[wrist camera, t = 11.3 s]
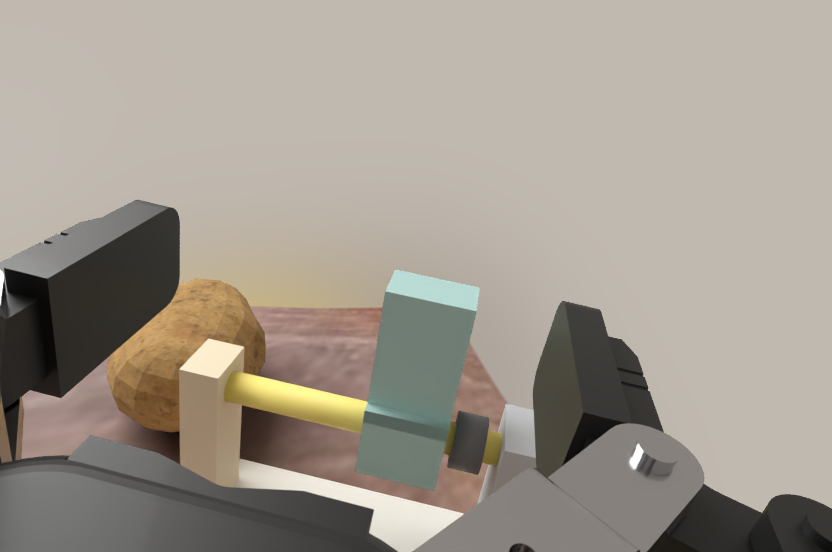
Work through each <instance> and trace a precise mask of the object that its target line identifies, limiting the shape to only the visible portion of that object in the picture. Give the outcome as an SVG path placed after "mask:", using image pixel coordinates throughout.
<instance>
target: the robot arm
mask: <svg viewBox="0 0 832 552" xmlns="http://www.w3.org/2000/svg"><path fill="white" fill-rule="evenodd" d="M179 235H180V222H179V216H178V213H177V211H176V210H175V209H174V208H170V207H166V206H162V205H157V204H153V203H149V202H145V201H140V200H135V201H133V202H131V203H129V204H127V205H125V206H123V207H121V208H119V209H117V210H115V211H113V212H111V213H109V214H108V215H106V216H104V217H102V218H97V219H93V220H88V221H84V222H80V223H78V224H76V225H74V226H72V227H70V228H68V229H66V230H64V231H62V232H61V234H60V235H58V234H57V235H54V236H52V237H50V238H48V239H46V240H45V241H44V243H38V244H36V245H35V246H32V247H30V248H28V249H26V250H24V251H22V252H21V253H18V254H16V255H14V256H12V257H10V258H8V259H6V260H4V261H2V262H0V552H398V551H397V550H395V549H394V548H392V547H391V546H389V545H388V544H387V543H385V542H384V541H382V540H381V539H379V538H377V537H375V536H373V535H372V534H370V533H369V531H370V526H371V522H372V517H373V512H374V509H371V508H367V507H363V506H359V505H355V504H352V503H348V502H344V501H340V500H336V499H332V498H329V497H325V496H321V495H317V494H313V493H310V492H306V491H298V490H277V489H256V488H235V487H224V486H220V485H217V484H215V483H213V482H211V481H209V480H208V479H206V478H204V477H202V476H200V475H198V474H196V473H195V472H193V471H191V470H189V469H187V468H185V467H184V466H182V465H180V464H178V463H176V462H174V461H172V460H171V459H169V458H167V457H165V456H163V455H161V454H160V453H157V452H153V451H149V450H145V449H142V448H138V447H134V446H130V445H126V444H122V443H119V442H115V441H111V440H107V439H103V438H100V437H96V436H92V435H90V436H89V437H88V438H87V439H86V440H85V441H84V442H83V443H82V444H81V445H80V446H79V447H78V448H77V449H76V450H75V451H74V452H73V453H72V454H71V455H70V456H63V455H62V456H42V457H34V458H26V459H21V452H22V436H23V419H24V408H23V401H22V396H23V395H24V394H25V393H27V392H28V391H29V390H32V391H36V392H40V393H44V394H47V395H51V396H55V397H59V398H61V397H63V396H64V395H65V394H66V393H67V392H68V391H70V390H71V389H72V388H73V387H74V386H75V385H76V384H78V383H79V382H80V381H81V380H82V379H83V378H85V377H86V376H87V375H88V374H89V373H90V372H92V371H93V370H94V369H95V368H96V367H97V366H98V365H100V364H101V363H102V362H103V361H104V360H105V359H107V358H108V357H109V356H110V355H111V354H112V353H113V352H115V351H116V350H117V349H118V348H119V347H120V346H122V345H123V344H124V343H125V342H126V341H127V340H128V339H130V338H131V337H132V336H133V335H134V334H135V333H137V332H138V331H139V330H140V329H141V328H142V327H143V326H145V325H146V324H147V323H148V322H149V321H150V320H152V319H153V318H154V317H155V316H156V315H157V314H158V313H160V312H161V311H162V310H163V309H164V308H165V307H167V306H168V305H169V304H170V302H171V301H172V299H173V298H174V296H175V294H176V291H177V288H178V284H179V275H180V274H179V272H180V271H179V270H180V269H179V268H180V266H179V265H180V262H179V261H180V258H179V257H180V254H179V253H180V246H179V245H180V240H179V239H180V237H179ZM533 407H534V429H535V451H536V468H529V469H527V470H525V471H523V472H522V473H520V474H519V475H517V476H516V477H515V478H513V479H512V480H511V481H509V482H508V483H506V484H505V485H504V486H502V487H501V488H499V489H498V490H497V491H495V492H494V493H493V494H491V495H490V496H488V497H487V498H486V499H484V500H483V501H481V502H480V503H479V504H477V505H476V506H475V507H473V508H472V509H470V510H469V511H468V512H466V513H465V514H464V515H462V516H461V517H459V518H458V519H457V520H455V521H454V522H452V523H451V524H450V525H448V526H447V527H446V528H444V529H443V530H441V531H440V532H439V533H437V534H436V535H434V536H433V537H432V538H430V539H429V540H428V541H426V542H425V543H423V544H422V545H421V546H419V547H418V548H417V549H415V550H414V551H412V552H832V509H831V508H829V507H827V506H825V505H824V504H821V503H819V502H817V501H814V500H811V499H809V498H805V497H802V496H798V495H790V494H785V495H779V496H775V497H774V498H772V499H771V500H770V502H769V503H768V505H767V506H766V508H765V510H764V511H763V513H761V512H758V511H756V510H754V509H752V508H750V507H748V506H746V505H744V504H741V503H739V502H737V501H735V500H733V499H731V498H729V497H727V496H725V495H722V494H720V493H719V492H716V491H714V490H713V489H711V488H709V487H708V486H706V485H705V484H703V483H704V473H703V470H702V467H701V465H700V464H699V462H698V460H697V459H696V458H695V456H694V455H693V454H692V453H691V452H690V451H689V450H688V449H687V448H686V447H685V446H683V445H682V444H681V443H680V442H678V441H677V440H675V439H674V438H672V437H671V436H669V435H667V434H665V433H664V432H663V429H662V426H661V423H660V420H659V417H658V414H657V411H656V409H655V406H654V403H653V400H652V397H651V394H650V392H649V391H648V386H647V383H646V380H645V377H643V372H642V368H641V366H640V363H639V360H638V357H637V356H636V355H635V354H634V352H633V351H632V350H631V349H630V348H629V347H628V346H627V345H626V344H625V343H624V342H623V341H622V340H621V339H617V338H612V337H609V336H608V335H607V331H606V327H605V324H604V320H603V317H602V313H601V311H600V310H599V309H595V308H591V307H587V306H582V305H578V304H574V303H570V302H565V301H562V302H561V303H560V305H559V307H558V309H557V311H556V314H555V317H554V320H553V323H552V326H551V329H550V332H549V335H548V338H547V341H546V344H545V347H544V350H543V353H542V356H541V358H540V362H539V365H538V368H537V372H536V376H535V381H534V387H533Z"/></svg>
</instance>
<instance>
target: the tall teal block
mask: <svg viewBox="0 0 832 552" xmlns="http://www.w3.org/2000/svg"><path fill="white" fill-rule="evenodd" d="M479 289H480V288H478V287H474V286H469V285H464V284H460V283H455V282H451V281H446V280H442V279H437V278H432V277H427V276H423V275H419V274H414V273H409V272H405V271H399V270H395V272H394V274H393V276H392V278H391V280H390V282H389V285H388V287H387V289H386V291H385V296H384V303H383V309H382V315H381V321H380V328H379V334H378V340H377V347H376V353H375V359H374V365H373V372H372V378H371V384H370V391H369V397H368V403H367V406H366V408H365V411H364V418H363V424H362V430H361V437H360V443H359V449H358V456H357V462H356V468H355V472H358V473H362V474H366V475H370V476H374V477H378V478H382V479H387V480H391V481H395V482H399V483H403V484H407V485H411V486H415V487H419V488H423V489H428V490H432V491H435V486H436V482H437V478H438V474H439V470H440V465H441V461H442V457H443V453H444V449H445V444H446V440H447V436H448V432H449V426H450V421H451V417H452V412H453V408H454V404H455V400H456V396H457V391H458V387H459V383H460V379H461V375H462V370H463V366H464V362H465V358H466V354H467V349H468V345H469V341H470V337H471V333H472V328H473V324H474V320H475V316H476V311H477V303H478V296H479Z"/></svg>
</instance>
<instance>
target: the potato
mask: <svg viewBox="0 0 832 552" xmlns="http://www.w3.org/2000/svg"><path fill="white" fill-rule="evenodd" d="M208 339H213V340H217V341H221V342H226V343H230V344H234V345H239V346H243V347H244V369H243V373H247V374H251V375H255V376H257V375H258V373H259V372H260V370H261V368H262V366H263V364H264V363H265V348H266V346H265V333H264V331H263V329H262V327H261V326H260V324H259V322H258V321H257V319H256V317H255V315H254V313H253V312H252V310H251V308H250V306H249V304H248V302H247V300H246V298H245V297H244V296H243V295H242V294H241V293H240V292H239V291H238V290H237V289H236V288H234V287H232V286H231V285H228V284H226V283H224V282H222V281H218V280H205V279H194V280H191V281H189V282H186V283H183V284H180V285H178V288H177V291H176V294H175V296H174V298H173V299H172V301H171V302H170V304H169V305H168V306H167V307H165V308H164V309H163V310H162V311H161V312H160V313H158V314H157V315H156V316H155V317H154V318H153V319H152V320H150V321H149V322H148V323H147V324H146V325H145V326H143V327H142V328H141V329H140V330H139V331H138V332H137V333H135V334H134V335H133V336H132V337H131V338H130V339H128V340H127V341H126V342H125V343H124V344H123V345H122V346H120V347H119V348H118V349H117V350H116V351H115V352H113V353H112V354H111V355H110V357H109V359H108V366H107V379H108V382H109V385H110V389H111V392H112V395H113V397H114V399H115V401H116V404H117V406H118V408H119V410H120V411H121V412H123V413H124V414H126V415H127V416H129V417H130V418H132V419H133V420H135V421H136V422H138V423H139V424H141V425H142V426H144V427H145V428H147V429H152V430H158V431H164V432H180V414H179V369H180V368H181V367H182V366H183V365H184V364H185V363H186V362H187V360H188V359H189V358H190V357H191V356H192V355H193V354H194V353H195V352H196V351H197V350H198V349H199V348H200V347H201V346H202V345H203V344H204V343H205V342H206V341H207V340H208Z"/></svg>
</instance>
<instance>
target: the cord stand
mask: <svg viewBox="0 0 832 552" xmlns="http://www.w3.org/2000/svg"><path fill="white" fill-rule="evenodd" d="M243 369H244V347H243V346H239V345H234V344H230V343H226V342H221V341H217V340H213V339H208V340H207V341H206V342H205V343H204V344H203V345H202V346H201V347H200V348H199V349H198V350H197V351H196V352H195V353H194V354H193V355H192V356H191V357H190V358H189V359H188V360H187V362H186V363H185V364H184V365H183V366H182V367H181V368H180V369H179V414H180V465H182V466H184V467H185V468H187V469H189V470H191V471H193V472H195V473H196V474H198V475H200V476H202V477H204V478H206V479H208V480H209V481H211V482H213V483H215V484H217V485H220V486H224V487H235V488H256V489H277V490H298V491H306V492H310V493H313V494H317V495H321V496H325V497H329V498H332V499H336V500H340V501H344V502H348V503H352V504H355V505H359V506H363V507H367V508H371V509H374V512H373V517H372V522H371V526H370V531H369V533H370V534H372V535H373V536H375V537H377V538H379V539H381V540H382V541H384V542H385V543H387V544H388V545H389V546H391V547H392V548H394V549H395V550H397V551H398V552H412V551H414V550H415V549H417V548H418V547H419V546H421V545H422V544H423V543H425V542H426V541H428V540H429V539H430V538H432V537H433V536H434V535H436V534H437V533H439V532H440V531H441V530H443V529H444V528H446V527H447V526H448V525H450V524H451V523H452V522H454V521H455V520H457V519H458V518H459V517H461V516H462V515H464V514H463V513H459V512H455V511H451V510H447V509H443V508H439V507H435V506H431V505H427V504H423V503H419V502H414V501H410V500H406V499H402V498H398V497H394V496H390V495H386V494H382V493H378V492H374V491H370V490H366V489H362V488H358V487H354V486H349V485H345V484H341V483H337V482H333V481H329V480H325V479H321V478H317V477H313V476H309V475H305V474H301V473H297V472H293V471H288V470H284V469H280V468H276V467H272V466H268V465H264V464H260V463H256V462H252V461H248V460H244V459H240V436H241V414H242V405H243V406H247V407H251V408H255V409H260V410H264V411H268V412H272V413H276V414H280V415H285V416H289V417H293V418H297V419H301V420H306V421H310V422H314V423H318V424H322V425H326V426H331V427H335V428H339V429H343V430H347V431H352V432H356V433H360V434H361V430H362V424H363V418H364V411H365V408H366V406H367V403H368V402H366V401H362V400H358V399H353V398H349V397H345V396H341V395H336V394H332V393H328V392H324V391H319V390H315V389H311V388H307V387H302V386H298V385H294V384H289V383H285V382H281V381H277V380H272V379H268V378H264V377H260V376H255V375H251V374H247V373H243ZM488 427H489V418H488V417H483V416H479V415H475V414H471V413H466V412H462V411H459V412H458V415H457V419H456V422H451V421H450V426H449V432H448V436H447V440H446V444H445V449H444V454H448V455H449V458H448V465H447V467H448V468H452V469H456V470H460V471H464V472H469V473H473V474H477V475H478V473H479V471H480V468H481V464H482V463H485V464H489V465H488V468H487V472H486V475H485V479H484V482H483V486H482V489H481V493H480V496H479V500H478V503H477V504H479V503H480V502H481V501H483V500H484V499H486V498H487V497H488V496H490V495H491V494H493V493H494V492H495V491H497V490H498V489H499V488H501V487H502V486H504V485H505V484H506V483H508V482H509V481H511V480H512V479H513V478H515V477H516V476H517V475H519V474H520V473H522V472H523V471H525V470H527V469H529V468H536V451H535V429H534V410H530V409H526V408H522V407H518V406H513V405H509V404H506V405H505V409H504V412H503V416H502V419H501V423H500V426H499V430H498V432H494V431H490V430H488Z"/></svg>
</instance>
